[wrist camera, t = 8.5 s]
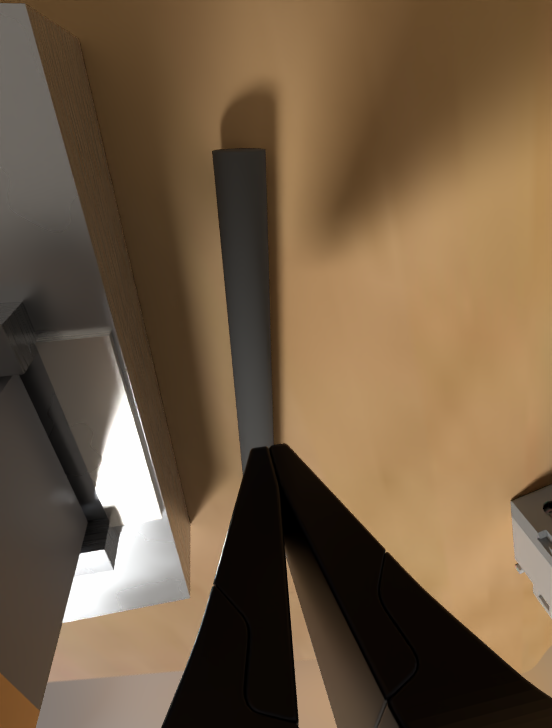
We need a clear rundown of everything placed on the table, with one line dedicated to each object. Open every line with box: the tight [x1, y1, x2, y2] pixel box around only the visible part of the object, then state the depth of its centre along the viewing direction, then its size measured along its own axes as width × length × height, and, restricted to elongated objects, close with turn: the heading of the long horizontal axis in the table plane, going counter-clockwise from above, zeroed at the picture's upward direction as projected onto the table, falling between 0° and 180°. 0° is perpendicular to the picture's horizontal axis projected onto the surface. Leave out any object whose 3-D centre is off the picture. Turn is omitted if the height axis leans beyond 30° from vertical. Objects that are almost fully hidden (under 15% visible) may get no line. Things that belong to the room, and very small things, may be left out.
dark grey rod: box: [212, 148, 274, 475], centre depth 12 cm, size 12×1×1 cm, turn 1°
